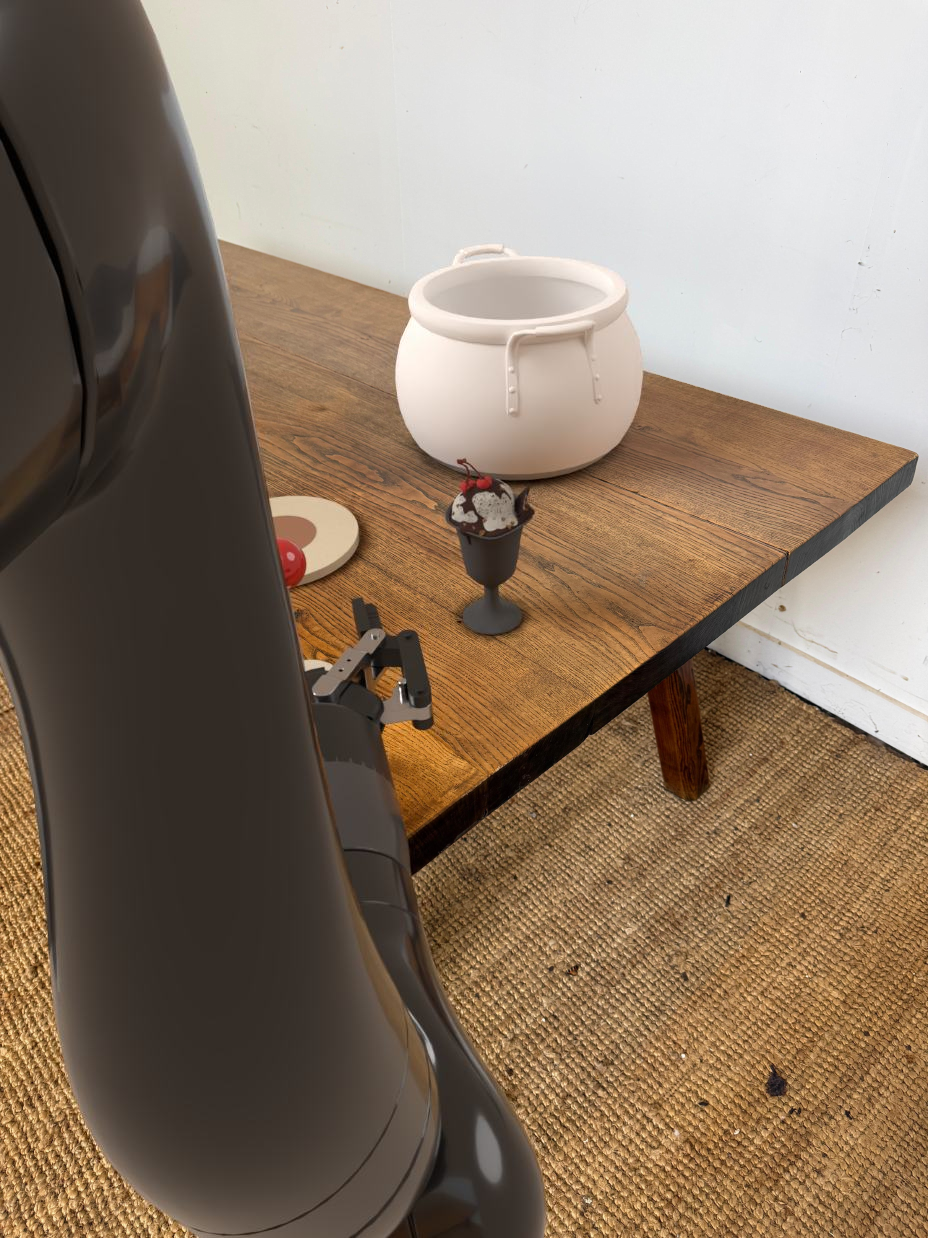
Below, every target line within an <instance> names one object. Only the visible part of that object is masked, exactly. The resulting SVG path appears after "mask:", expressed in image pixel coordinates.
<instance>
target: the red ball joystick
mask: <svg viewBox="0 0 928 1238" xmlns="http://www.w3.org/2000/svg"><path fill="white" fill-rule="evenodd" d="M277 543H278V548H279V553H280V557H281V562H282V567H283V571H284V576H285V581H286V585H287V590H288V595H289V599H290V604H291V609H292V614H293V618H294V623H295V628H296V633H297V638H298V642H299V647H300V652H301V657H302V661H303V666H304V671H308V670H310V669H315V668H320V667H325V670H330V669H331V668H332V666H333V665H334V664H331V663H330V662H327V661H325V660H320V659H304V655H303V649H302V644H301V639H300V636H299V635H300V634H299V630H298V625H297V620H296V614H295V610H294V606H293V600H292V596H291V591H290V590H291V589H293V588H295V587H297V586H296V585H297V584H299V583H300V581H301V580H302V579H303V577H304V575H305V572H306V567H307V562H306V557H305V554H304V552H303V550H302V549H301V548H300V547H299V545H297V544H296V543H295V542H293V541H292V540H289V539H286V538H277Z"/></svg>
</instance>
